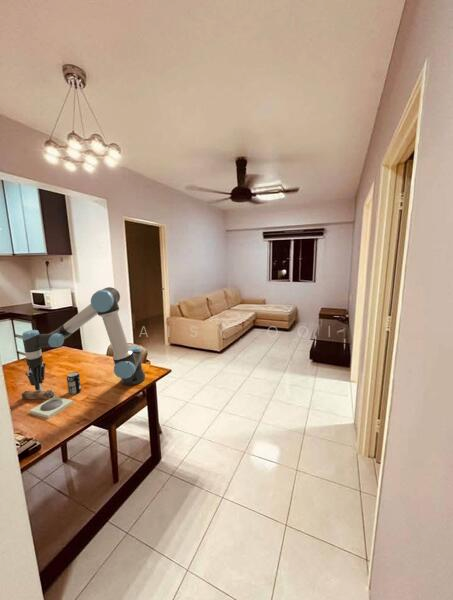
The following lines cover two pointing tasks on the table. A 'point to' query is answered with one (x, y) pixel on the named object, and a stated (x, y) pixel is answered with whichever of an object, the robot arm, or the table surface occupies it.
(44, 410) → the board
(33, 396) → the brown grey-ended bar
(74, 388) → the beverage can
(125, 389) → the table surface
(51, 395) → the hinge pin
